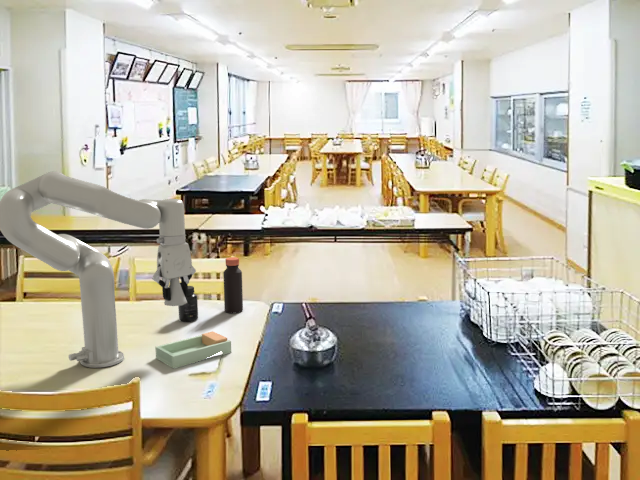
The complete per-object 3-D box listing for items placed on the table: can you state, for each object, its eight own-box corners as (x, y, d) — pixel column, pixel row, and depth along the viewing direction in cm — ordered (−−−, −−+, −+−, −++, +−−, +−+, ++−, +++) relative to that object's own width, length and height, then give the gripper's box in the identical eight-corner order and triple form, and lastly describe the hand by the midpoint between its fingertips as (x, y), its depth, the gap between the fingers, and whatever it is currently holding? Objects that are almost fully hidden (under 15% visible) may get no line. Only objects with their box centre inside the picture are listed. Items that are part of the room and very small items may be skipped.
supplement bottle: (176, 318, 247) (175, 286, 244) (195, 315, 250) (194, 283, 247) (181, 323, 241) (179, 290, 238) (200, 321, 243) (199, 288, 241)
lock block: (216, 350, 210) (216, 340, 210) (202, 343, 216) (201, 334, 216) (227, 347, 213) (227, 337, 212) (213, 340, 219) (212, 331, 218)
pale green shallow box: (173, 368, 200) (173, 356, 199) (155, 358, 208) (155, 346, 207) (231, 352, 212) (231, 341, 212) (212, 343, 221) (211, 332, 220)
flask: (190, 300, 214) (188, 269, 213) (184, 307, 207) (183, 275, 205) (167, 300, 215) (165, 269, 213) (161, 306, 208) (159, 274, 206)
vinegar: (246, 310, 256) (245, 257, 252) (235, 314, 251) (233, 261, 247) (232, 307, 260) (230, 255, 256) (220, 311, 254) (219, 259, 250)
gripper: (154, 246, 199) (157, 306, 202) (203, 237, 210) (205, 294, 214) (141, 242, 204) (144, 301, 207) (189, 234, 216) (192, 290, 219)
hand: (175, 297), depth 211 cm, fingers closed on flask, 5 cm apart
